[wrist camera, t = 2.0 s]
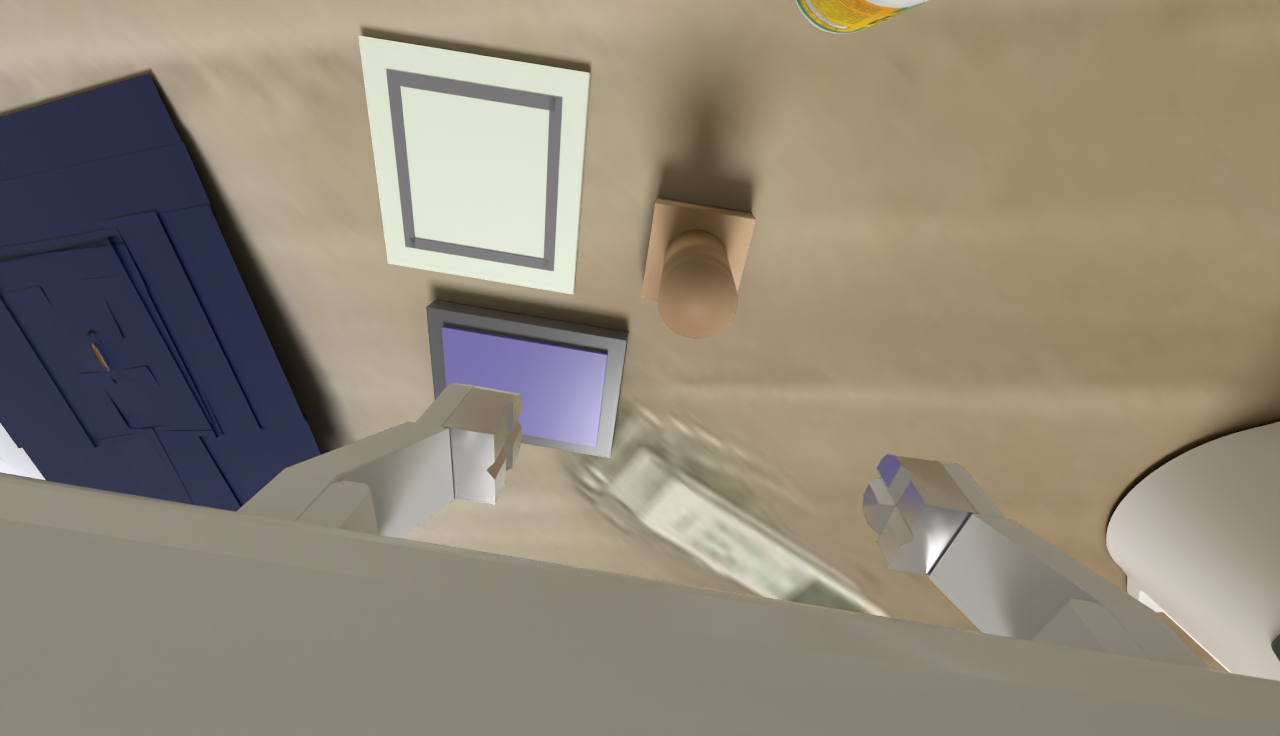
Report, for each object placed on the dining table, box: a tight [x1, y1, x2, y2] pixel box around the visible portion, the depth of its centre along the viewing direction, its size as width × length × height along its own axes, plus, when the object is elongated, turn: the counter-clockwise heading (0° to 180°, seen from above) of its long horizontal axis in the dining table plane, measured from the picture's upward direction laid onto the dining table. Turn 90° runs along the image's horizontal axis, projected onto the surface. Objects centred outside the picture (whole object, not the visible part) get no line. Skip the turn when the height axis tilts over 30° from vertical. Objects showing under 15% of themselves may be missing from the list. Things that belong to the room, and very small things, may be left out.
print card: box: [358, 36, 591, 294], centre depth 24 cm, size 11×11×1 cm
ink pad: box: [426, 300, 629, 458], centre depth 30 cm, size 12×9×2 cm
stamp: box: [641, 197, 756, 339], centre depth 22 cm, size 5×5×8 cm
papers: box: [0, 74, 321, 512], centre depth 31 cm, size 24×30×4 cm
